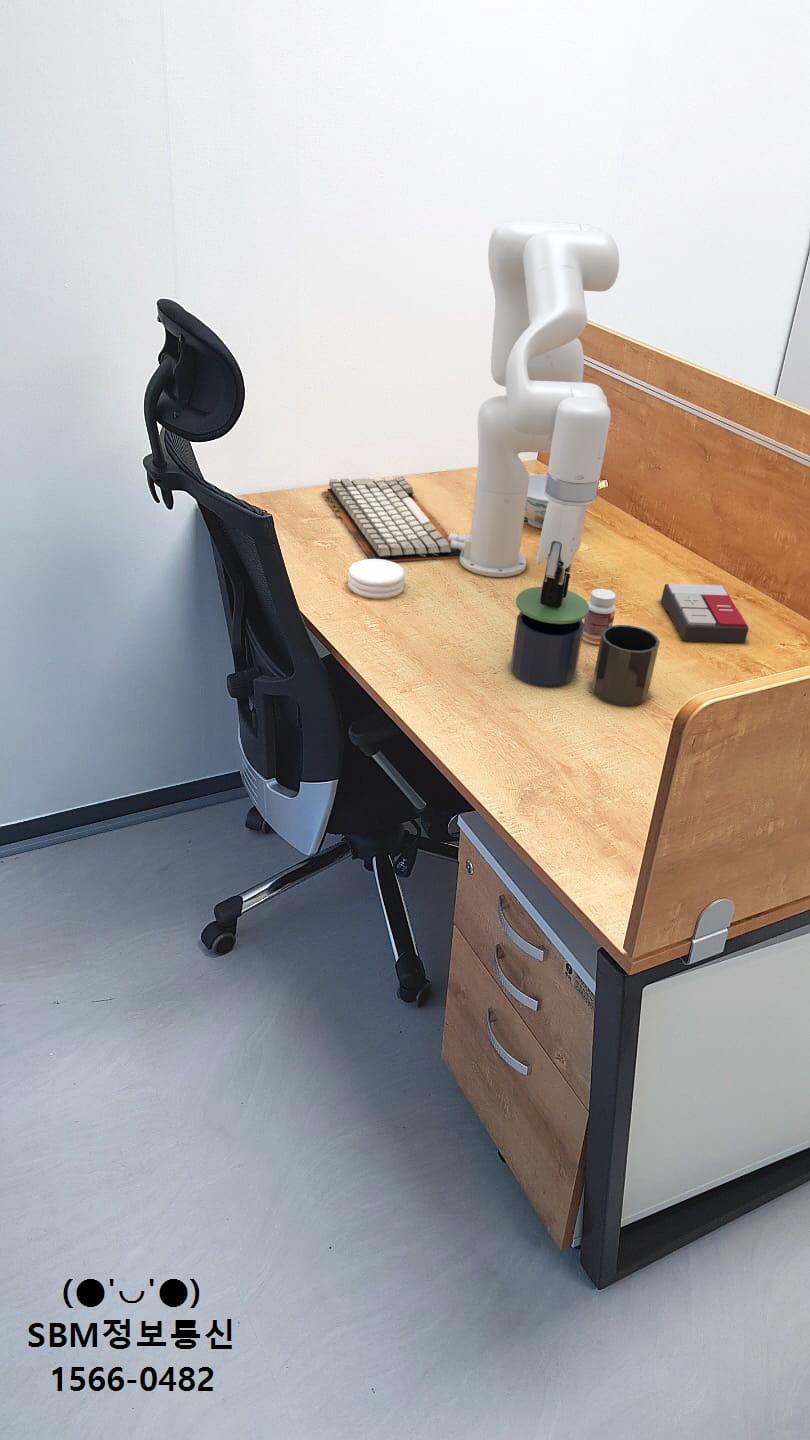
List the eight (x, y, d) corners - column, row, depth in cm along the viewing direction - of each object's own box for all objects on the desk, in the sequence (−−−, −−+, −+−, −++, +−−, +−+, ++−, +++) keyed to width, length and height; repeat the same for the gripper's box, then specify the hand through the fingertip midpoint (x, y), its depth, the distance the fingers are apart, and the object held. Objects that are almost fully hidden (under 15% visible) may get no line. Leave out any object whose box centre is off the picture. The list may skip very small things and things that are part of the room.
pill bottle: (611, 646, 183) (620, 601, 179) (583, 644, 183) (591, 598, 179) (607, 633, 187) (616, 588, 183) (579, 631, 187) (587, 586, 183)
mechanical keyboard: (467, 557, 210) (468, 541, 208) (372, 566, 204) (373, 549, 202) (402, 487, 240) (403, 472, 238) (317, 492, 234) (318, 477, 232)
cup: (586, 698, 168) (596, 644, 163) (597, 673, 175) (607, 620, 170) (642, 712, 166) (654, 657, 161) (651, 685, 173) (663, 632, 168)
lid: (506, 617, 166) (512, 580, 163) (525, 587, 175) (530, 551, 172) (579, 634, 163) (586, 596, 160) (594, 602, 172) (601, 566, 169)
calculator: (687, 622, 184) (665, 579, 197) (682, 644, 187) (660, 600, 199) (750, 624, 185) (724, 581, 198) (744, 646, 188) (718, 602, 200)
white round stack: (383, 571, 202) (384, 553, 200) (415, 592, 195) (416, 574, 193) (337, 582, 197) (337, 564, 195) (368, 604, 190) (369, 586, 188)
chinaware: (498, 527, 224) (502, 491, 219) (520, 504, 235) (525, 469, 231) (569, 543, 219) (575, 506, 215) (588, 518, 231) (594, 483, 227)
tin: (503, 678, 172) (510, 627, 167) (519, 650, 180) (526, 600, 175) (567, 693, 169) (576, 642, 164) (580, 664, 177) (589, 614, 172)
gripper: (559, 464, 166) (541, 574, 176) (532, 500, 153) (515, 617, 163) (608, 473, 164) (587, 584, 174) (585, 511, 151) (565, 629, 161)
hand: (553, 599), depth 168 cm, fingers closed on lid, 2 cm apart
